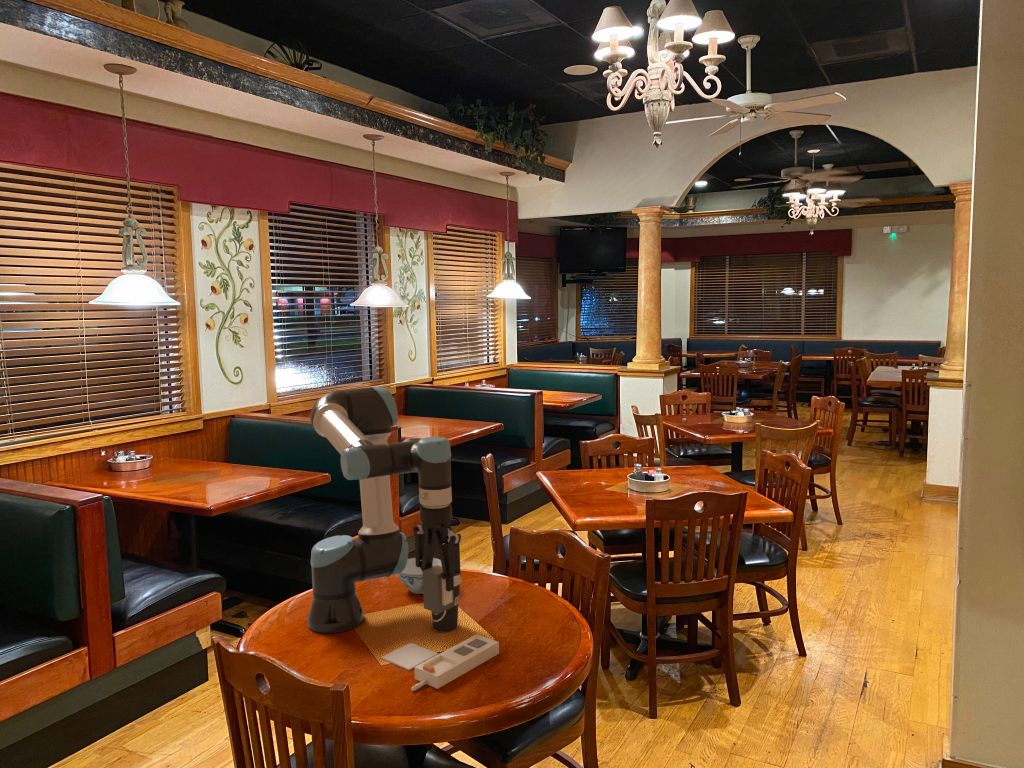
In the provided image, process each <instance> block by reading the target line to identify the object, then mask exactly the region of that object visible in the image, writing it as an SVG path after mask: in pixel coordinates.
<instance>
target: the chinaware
mask: <svg viewBox="0 0 1024 768" xmlns="http://www.w3.org/2000/svg"><path fill="white" fill-rule="evenodd" d="M420 561H421V560H420ZM436 565H439V566H442V564H441V559H439V558H437V557H436V558H435V557H433V563H432V566H436ZM396 575H397V577H398V580H399V581H400V582H401V583H402V584H403V585H404V586H405V587H406V588H407V589H409V591H410V592H411V593H412V594H415V595H417V594H418V595H419V594H421V595H423V571H422V570H421V568H420V567H416V561H415V557H412V558H408V560H407V564H406V567H405V569H404V570H403V571H402V572H401V573H399V574H396Z"/></svg>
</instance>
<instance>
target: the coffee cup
mask: <svg viewBox="0 0 1024 768" xmlns="http://www.w3.org/2000/svg"><path fill="white" fill-rule="evenodd" d="M462 582H463V581H462V577H461V576H460V574H459V575H457V576H455V577H454V589H453V594H454V607H452V608H450V609H448V610H446V611H443V612H441V613H436V612H433V611H431V618H432V619H431V620H432V626H433V627H432V629H433V630H434V631H436V632H439V633H449V632H453V631H456V630H457V628H458V621H459V606H460V605H459V603H460V585H461V583H462Z"/></svg>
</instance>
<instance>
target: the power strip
mask: <svg viewBox="0 0 1024 768" xmlns="http://www.w3.org/2000/svg"><path fill="white" fill-rule="evenodd" d="M499 654H500V642H499V641H497V640H495V639H491V638H489V637H485V636H482V635H480V634H475V635H473V636H470V637H468V638H466V639H464V640H463V641H461V642H460V643H458V644H455V645H454V646H452V647H450V648H448V649H446V650H444V651H442V652H441V653H438V655H436V656H435V657H433V658H431V659H429V660H427V661H425V662H423V663H421V664H419V665H417V666H416V667H415V668H414V680H416V681H419V683H416V684H414V685H413V686H412V687H411V691H412V692H415V691H417V690H419V689H420V688H422V687H424V686H425V685H428V686H430V687H432V688H435V689H437V690H438V689H440V688H441V687H443V686H446V685H447V684H449V683H450V682H452V681H454V680H455V679H458V678H459V677H461V676H462V675H464V674H466V673H468V672H470V671H472V670H474V668H476V667H479V666H480V665H482V664H483V663H485V662H487V661H489V660H491V659H492V658H494V657H495V656H497V655H499Z"/></svg>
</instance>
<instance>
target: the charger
mask: <svg viewBox="0 0 1024 768" xmlns="http://www.w3.org/2000/svg"><path fill="white" fill-rule="evenodd" d="M443 576H444V574H443V569H442V566H439V565H436V566H434V567H431V568H429V569H426V570H424V571H423V593H422V595H423V599H422V600H423V609H425V610H428V611H430V612H432V611H433V612H436V613H441V612H443V611H446V610H448V609H450V608H452V607H454V594H453V590H452V600H453V602H451V603H449V604H447V605H445V606H444V605H442V579H441V578H442V577H443Z"/></svg>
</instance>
